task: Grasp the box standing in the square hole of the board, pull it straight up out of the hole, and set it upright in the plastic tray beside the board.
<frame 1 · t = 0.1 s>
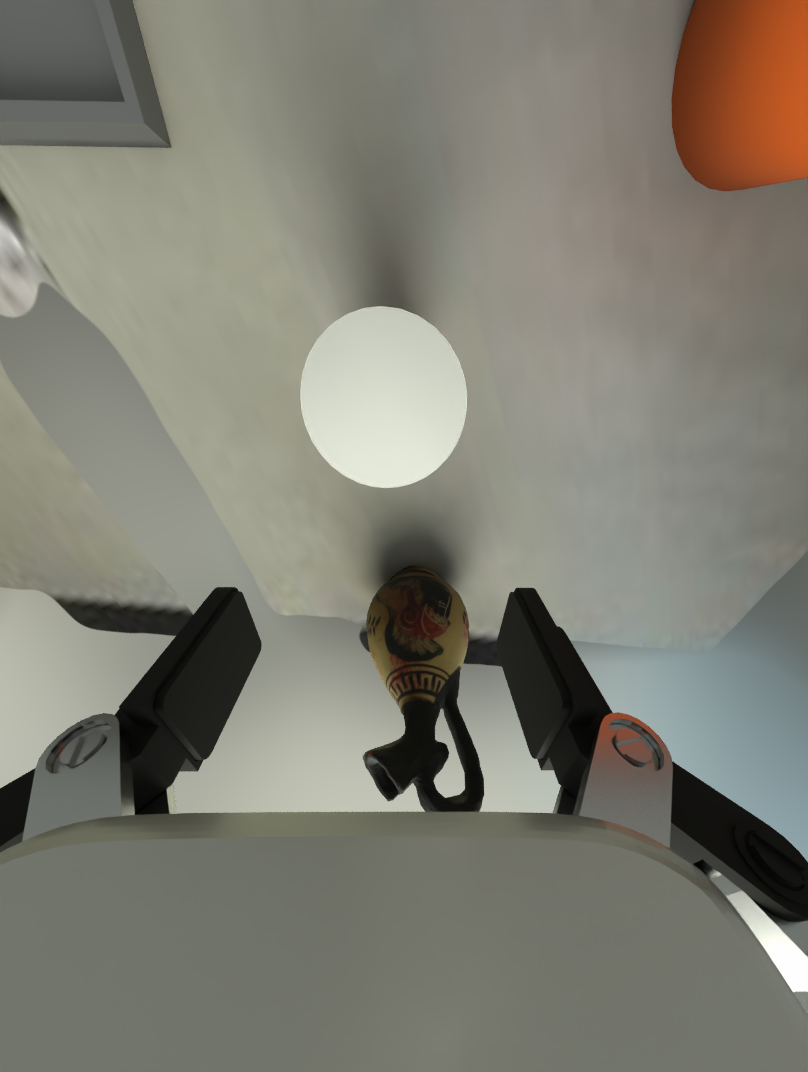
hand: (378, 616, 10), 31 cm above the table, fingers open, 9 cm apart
cylindrical container: (395, 376, 34), on the table
flowerpot: (785, 37, 22), on the table
ceramic jug: (419, 589, 51), on the table
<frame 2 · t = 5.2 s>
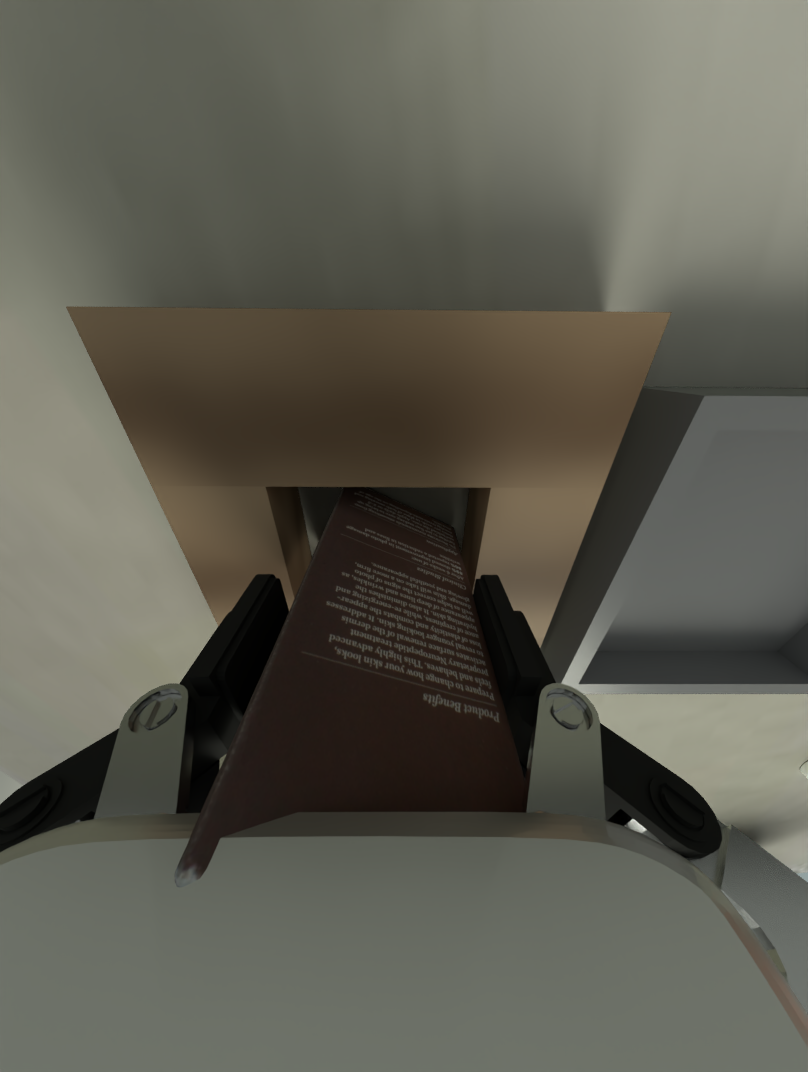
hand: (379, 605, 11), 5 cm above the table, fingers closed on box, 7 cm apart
socket board: (385, 537, 15), on the table
box: (385, 535, 15), resting in socket board, touching gripper
tray: (720, 554, 16), on the table
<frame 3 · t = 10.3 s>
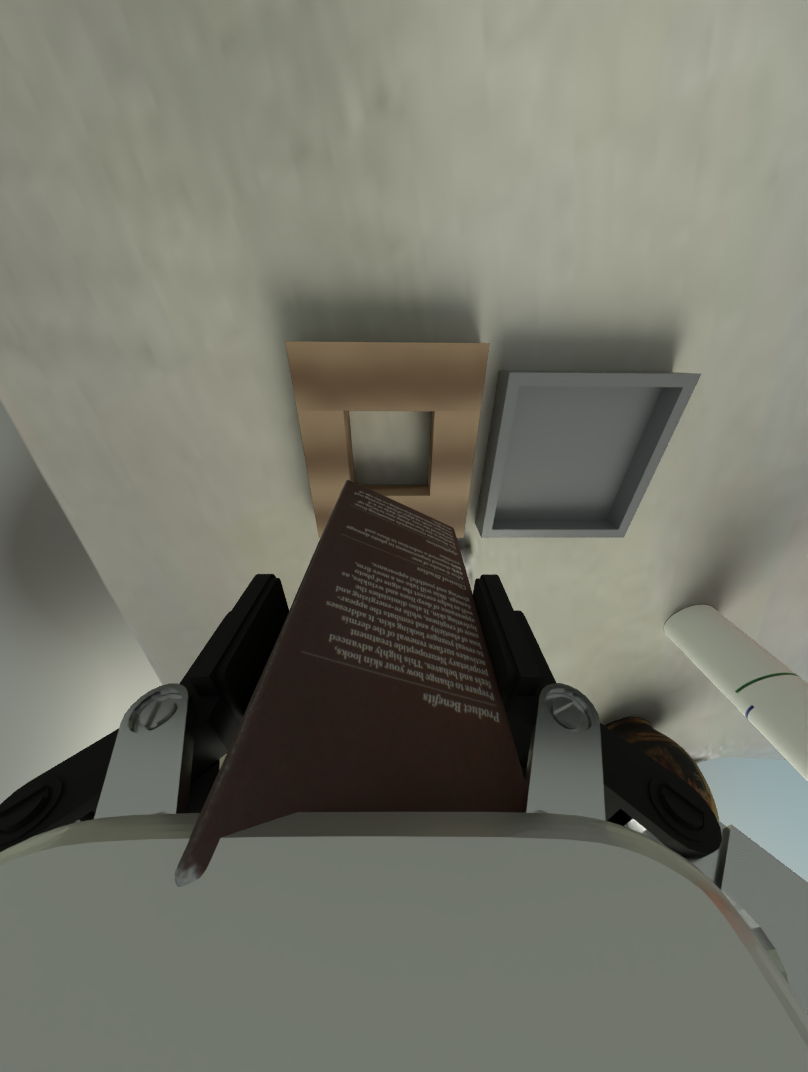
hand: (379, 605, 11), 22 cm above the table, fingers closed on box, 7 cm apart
cylindrical container: (688, 620, 44), on the table
socket board: (390, 448, 30), on the table
ceramic jug: (626, 729, 62), on the table
box: (385, 535, 15), point 17 cm above the table, touching gripper
tray: (560, 458, 31), on the table
when the fingers open (7 cm above the table, at t = 15.5 s): box drops 1 cm, resting on tray.
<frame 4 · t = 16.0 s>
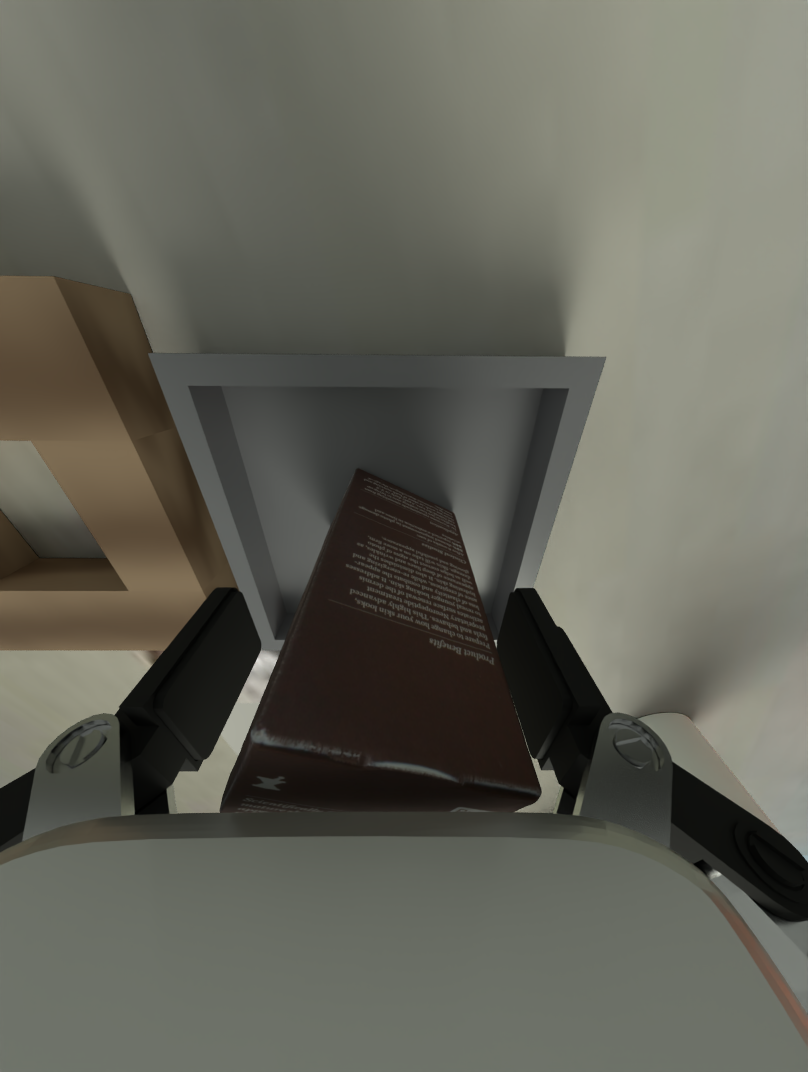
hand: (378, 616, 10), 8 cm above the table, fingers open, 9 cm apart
cylindrical container: (651, 728, 30), on the table
socket board: (64, 500, 16), on the table
box: (391, 521, 16), point 1 cm above the table, touching tray
tray: (387, 517, 17), on the table
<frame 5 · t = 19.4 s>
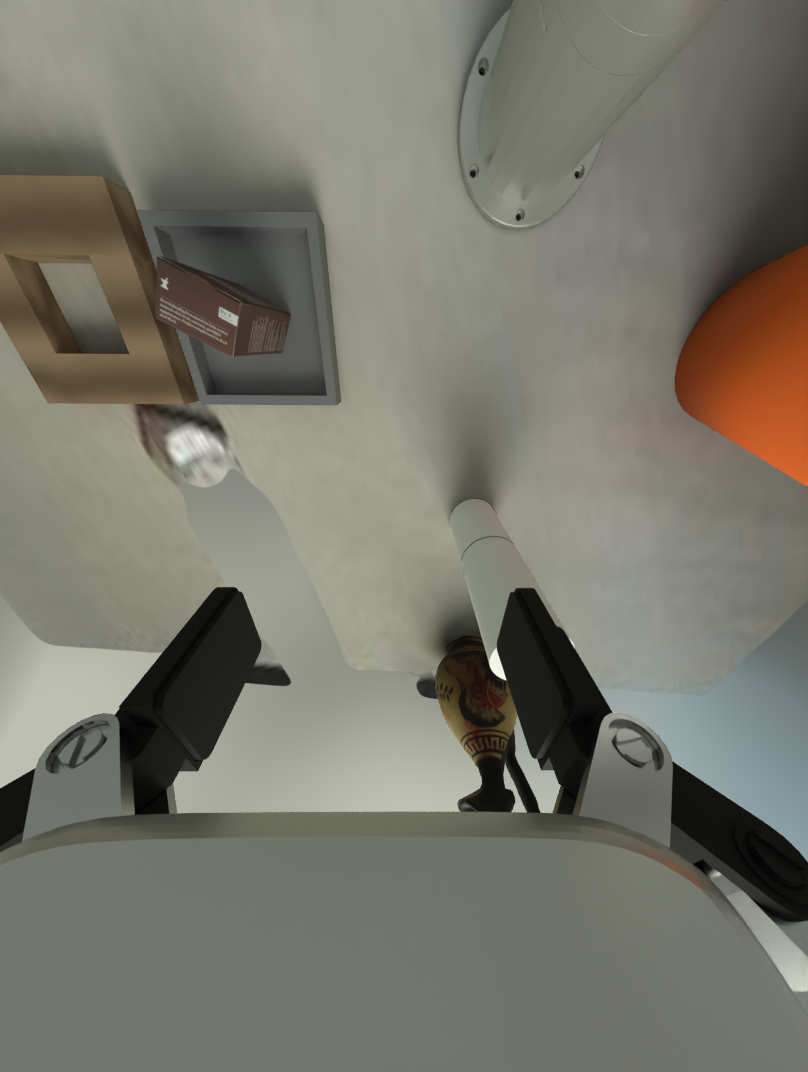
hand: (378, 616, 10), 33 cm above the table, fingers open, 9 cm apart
cylindrical container: (471, 518, 46), on the table
socket board: (97, 311, 32), on the table
flowerpot: (748, 349, 35), on the table
ceramic jug: (470, 651, 64), on the table
box: (262, 322, 32), point 1 cm above the table, touching tray
tray: (262, 324, 33), on the table
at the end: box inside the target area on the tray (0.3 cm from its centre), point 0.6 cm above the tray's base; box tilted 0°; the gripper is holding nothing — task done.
